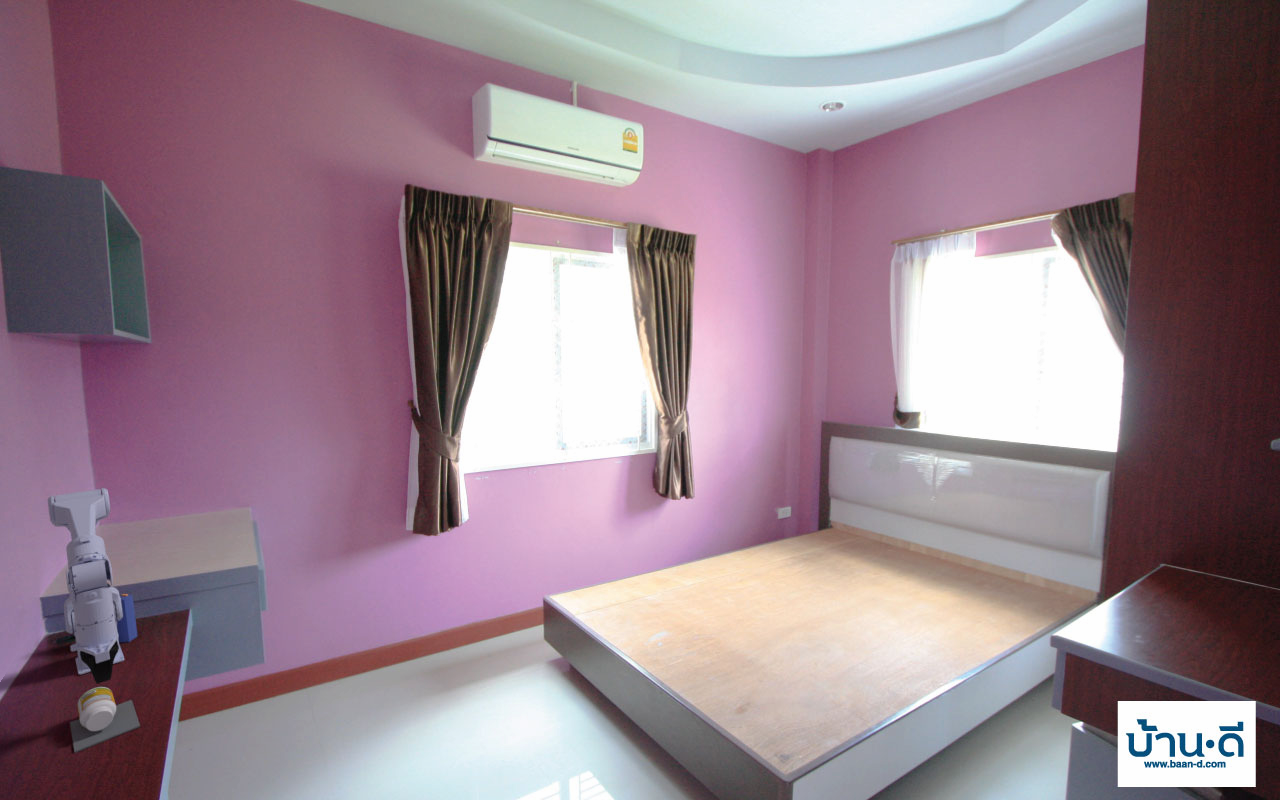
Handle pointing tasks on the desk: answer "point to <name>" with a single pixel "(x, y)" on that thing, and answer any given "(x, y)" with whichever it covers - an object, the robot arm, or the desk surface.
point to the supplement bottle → (96, 708)
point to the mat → (120, 724)
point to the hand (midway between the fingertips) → (103, 680)
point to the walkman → (127, 620)
